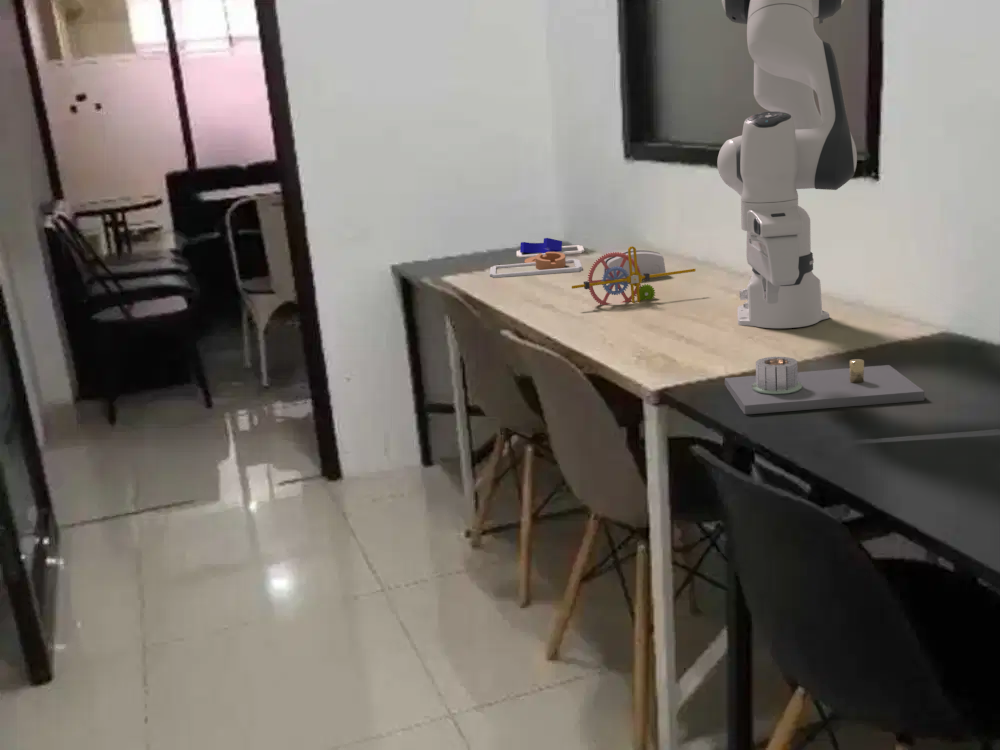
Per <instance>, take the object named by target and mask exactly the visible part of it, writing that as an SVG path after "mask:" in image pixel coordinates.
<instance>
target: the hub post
mask: <svg viewBox="0 0 1000 750" xmlns="http://www.w3.org/2000/svg"><path fill="white" fill-rule="evenodd" d="M769 365H783V364H782V363H772V364H769ZM801 389H802V384H801V383H800V382H798V386H797V387H796V388H794V389H790V390H786V391H767V390H763V389H759V388H758V387H757V386H756V382H755V383H753V384H752V390H753V391H755V392H757V393H761V394H767V395H785V394H792V393H796V392H798V391H800V390H801Z"/></svg>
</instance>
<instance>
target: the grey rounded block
mask: <svg viewBox="0 0 1000 750" xmlns="http://www.w3.org/2000/svg"><path fill="white" fill-rule="evenodd" d="M620 253H621V254H622V253H624V254H626V255H628V250H625V251H623V252H620ZM636 256H637V264H638V265H637V266H639V267H638V268H640V269H639V270H641V271H640V273H641V274H640V275H642V276H644V274H643V273H649V275H653V274H660V273H667V272H666V266H665V258H664V256H663V255H662V254H661V253H660V252H657V251H652V250H647V249H636ZM631 257H632V258H633V260H634V253H633V249H631ZM622 260H623V258H622V257H610V258H607V259H605V260H604V261H605V262H606V264H607V266H608V267H609V268H611V267H613V268H614V266H615V267H616V266H618V267H620V265H621V262H622ZM623 268H624V270H626V271H627V272H628V273H627V274H629V275H630V271H629V261H628V260H626V262H625V264H624V266H623ZM623 268H622V269H623ZM606 271H607V270H606V269H605V267H604V266H603V273H602V277H604V276H603V275H605V274H604V273H606ZM617 271H618V270H617ZM617 271H616V272H617ZM632 272H634V273H635V268H634V267H633V265H632ZM612 274H613V275H614V271H612ZM621 274H623V272H620V274H619V276H620V275H621ZM629 275H628V276H629ZM608 276H610V275H609V274H608ZM619 276H618V277H619ZM659 277H662V276H659ZM659 277H658V278H659ZM622 278H625V276H624V277H622ZM606 279H607V278H606Z"/></svg>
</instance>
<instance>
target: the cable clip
mask: <svg viewBox="0 0 1000 750" xmlns="http://www.w3.org/2000/svg"><path fill="white" fill-rule="evenodd" d="M562 246H563V241H562V240H559V239H553V238H551V237H544V238H543V242H526V241H521V242H520V249H519V250H520V252H521V253H522V254H540V253H545V252H563V248H562Z"/></svg>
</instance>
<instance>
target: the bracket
mask: <svg viewBox="0 0 1000 750" xmlns="http://www.w3.org/2000/svg"><path fill="white" fill-rule="evenodd" d="M560 252H561V251H559V252H545V255H543V254H542V253H537V254H538V255H536V256H534V257H526V258H525V259H524V262H523V263H532V262H536V265H535V269H536V270H546V269H558V268H566V266H567V265H566V264H567V263H565V260H566V254H563V253H560Z"/></svg>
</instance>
